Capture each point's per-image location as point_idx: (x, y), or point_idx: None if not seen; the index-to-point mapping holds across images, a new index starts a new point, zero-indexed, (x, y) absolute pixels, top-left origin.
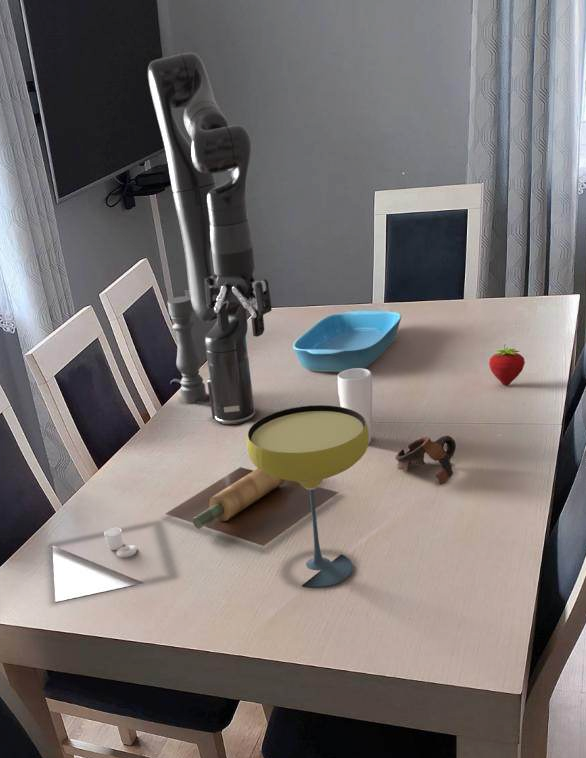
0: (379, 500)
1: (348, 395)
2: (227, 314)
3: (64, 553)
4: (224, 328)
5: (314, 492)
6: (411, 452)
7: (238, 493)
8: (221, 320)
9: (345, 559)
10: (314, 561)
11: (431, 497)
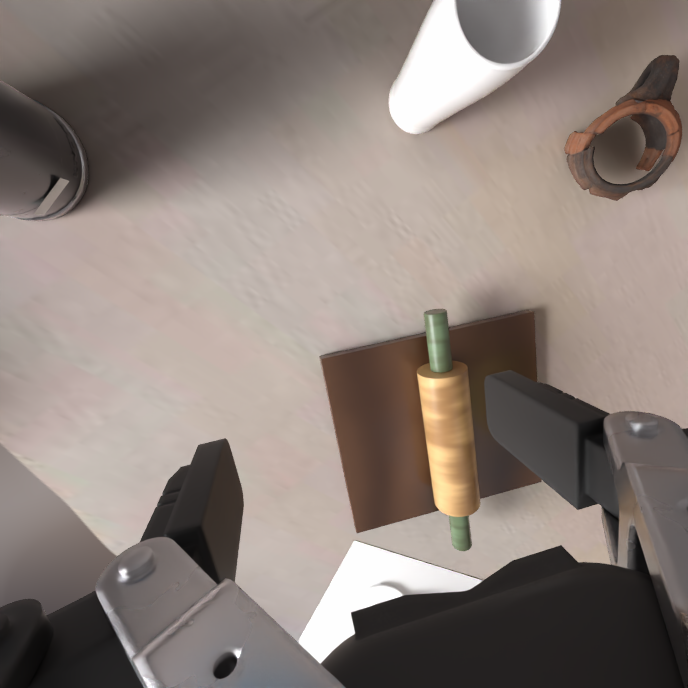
0: (583, 275)
1: (491, 90)
2: (211, 508)
3: (320, 658)
4: (236, 489)
5: (503, 338)
6: (650, 180)
7: (476, 479)
8: (235, 556)
9: None
10: None
11: (644, 216)
